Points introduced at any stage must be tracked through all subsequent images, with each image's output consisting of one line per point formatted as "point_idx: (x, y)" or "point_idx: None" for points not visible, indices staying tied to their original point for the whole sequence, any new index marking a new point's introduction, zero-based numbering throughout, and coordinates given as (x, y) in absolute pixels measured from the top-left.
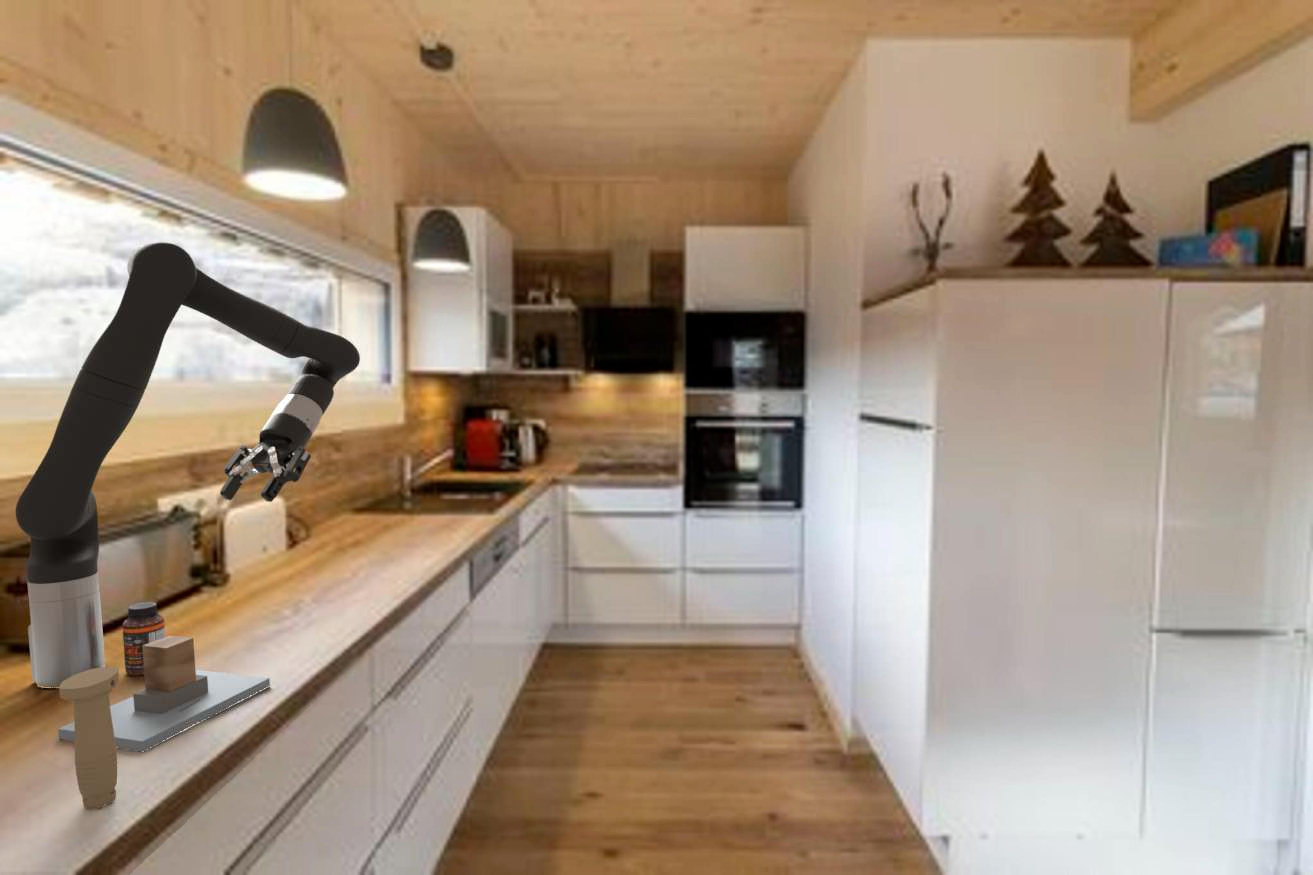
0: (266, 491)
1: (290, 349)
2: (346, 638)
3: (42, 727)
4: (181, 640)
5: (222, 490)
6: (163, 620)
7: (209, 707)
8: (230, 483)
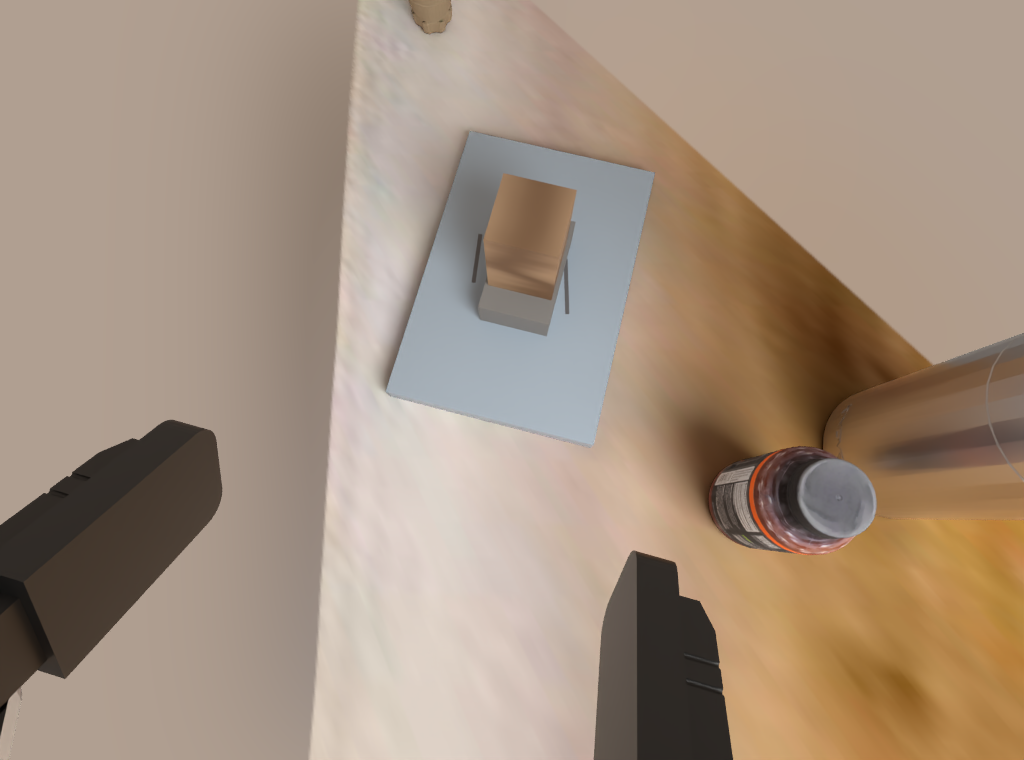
0: (146, 441)
1: None
2: (334, 750)
3: (722, 226)
4: (502, 222)
5: (661, 571)
6: (761, 519)
7: (433, 249)
8: (633, 670)
